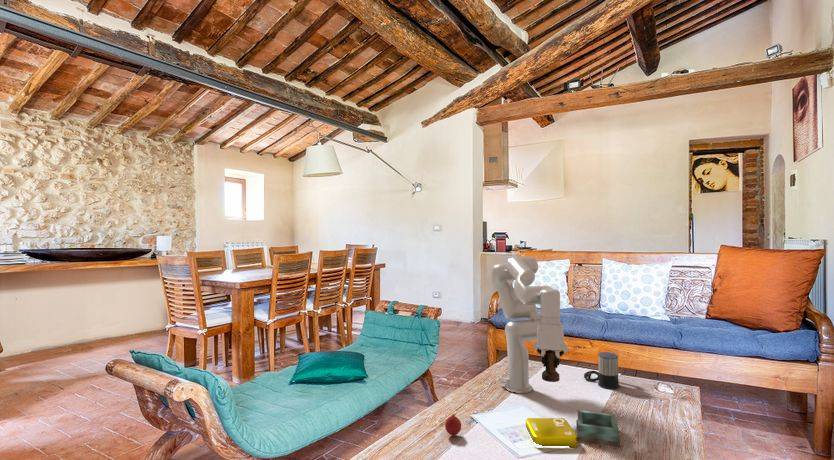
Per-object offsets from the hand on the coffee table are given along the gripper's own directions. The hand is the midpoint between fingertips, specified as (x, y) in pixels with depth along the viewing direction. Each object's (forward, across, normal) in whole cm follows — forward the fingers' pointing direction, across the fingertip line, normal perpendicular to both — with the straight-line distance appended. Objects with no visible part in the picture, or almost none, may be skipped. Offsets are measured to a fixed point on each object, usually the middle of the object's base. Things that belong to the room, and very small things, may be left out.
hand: (550, 365), depth 166 cm
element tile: (+20, +1, -18) cm, 27 cm away
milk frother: (+21, +21, +44) cm, 53 cm away
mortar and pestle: (+6, 0, 0) cm, 6 cm away
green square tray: (+20, +16, -11) cm, 28 cm away
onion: (+20, -33, -28) cm, 47 cm away
